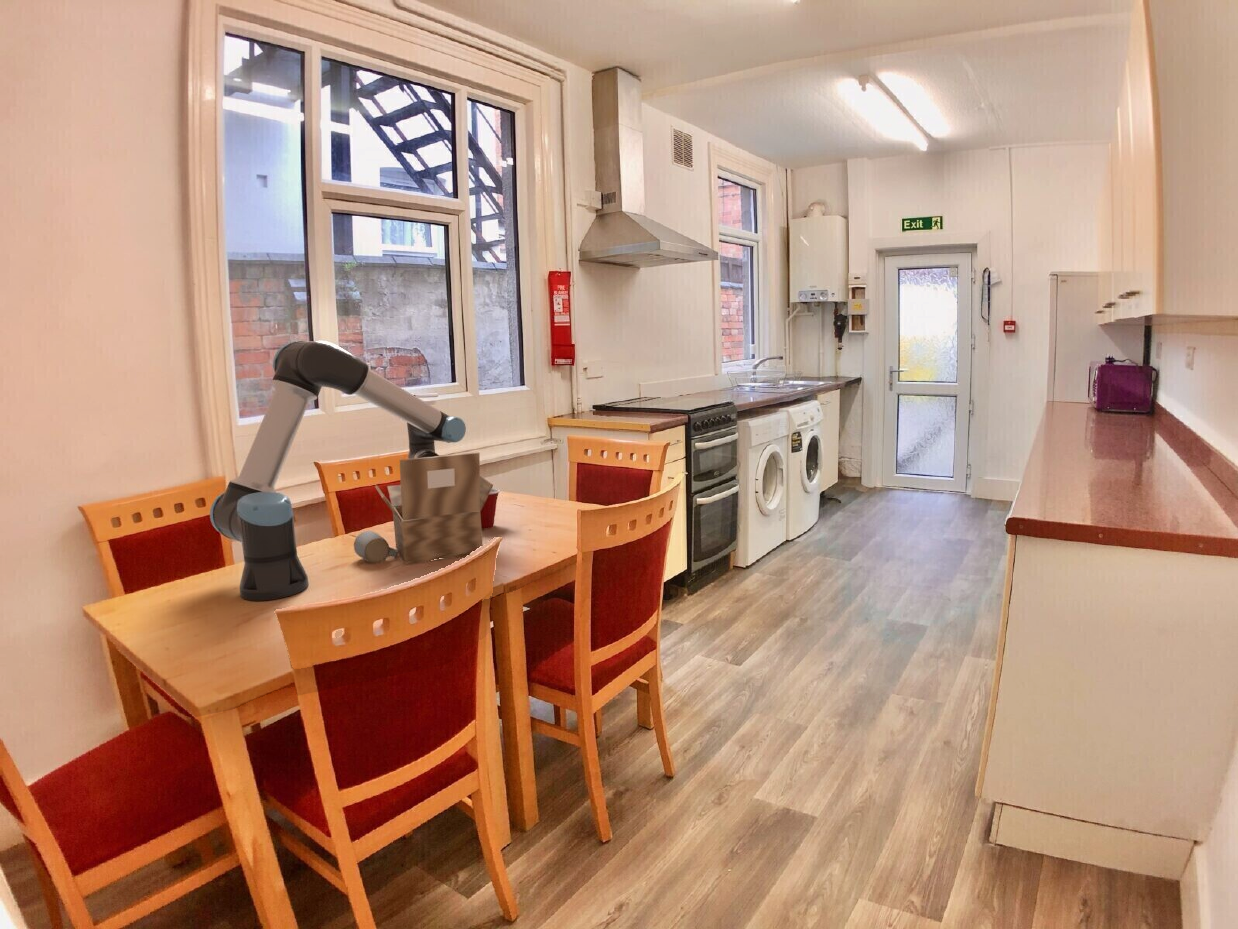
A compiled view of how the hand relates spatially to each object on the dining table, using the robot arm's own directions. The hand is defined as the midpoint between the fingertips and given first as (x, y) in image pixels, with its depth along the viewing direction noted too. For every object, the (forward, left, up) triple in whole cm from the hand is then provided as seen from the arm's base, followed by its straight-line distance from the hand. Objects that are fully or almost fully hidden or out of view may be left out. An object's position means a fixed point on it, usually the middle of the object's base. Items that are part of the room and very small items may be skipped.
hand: (443, 477), depth 193 cm
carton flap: (-1, 0, -2) cm, 2 cm away
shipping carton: (-1, +15, -23) cm, 28 cm away
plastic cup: (+17, +30, -23) cm, 42 cm away
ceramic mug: (-17, +12, -23) cm, 31 cm away
